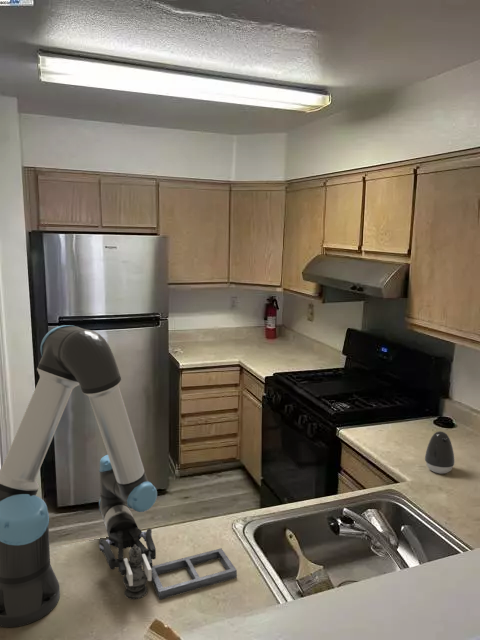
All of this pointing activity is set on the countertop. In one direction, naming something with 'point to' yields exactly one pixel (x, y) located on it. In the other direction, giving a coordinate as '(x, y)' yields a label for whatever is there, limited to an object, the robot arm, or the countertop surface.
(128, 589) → the dark grey chess piece
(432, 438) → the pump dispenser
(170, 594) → the grey flat rectangular frame
